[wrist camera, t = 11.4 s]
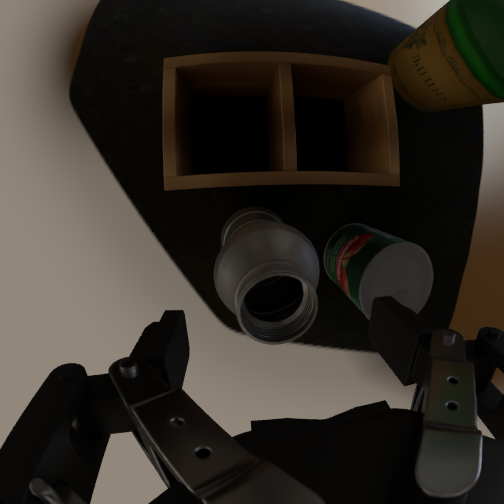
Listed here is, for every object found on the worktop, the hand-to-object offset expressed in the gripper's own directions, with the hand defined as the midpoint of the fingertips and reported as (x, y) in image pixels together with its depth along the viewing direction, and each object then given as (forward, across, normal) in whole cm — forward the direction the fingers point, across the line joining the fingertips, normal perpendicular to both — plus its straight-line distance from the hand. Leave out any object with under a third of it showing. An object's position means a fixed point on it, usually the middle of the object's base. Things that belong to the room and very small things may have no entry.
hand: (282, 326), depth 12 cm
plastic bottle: (+21, 0, 0) cm, 21 cm away
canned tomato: (+21, -12, +3) cm, 25 cm away
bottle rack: (+21, -2, -11) cm, 24 cm away
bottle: (+21, -20, -19) cm, 35 cm away
